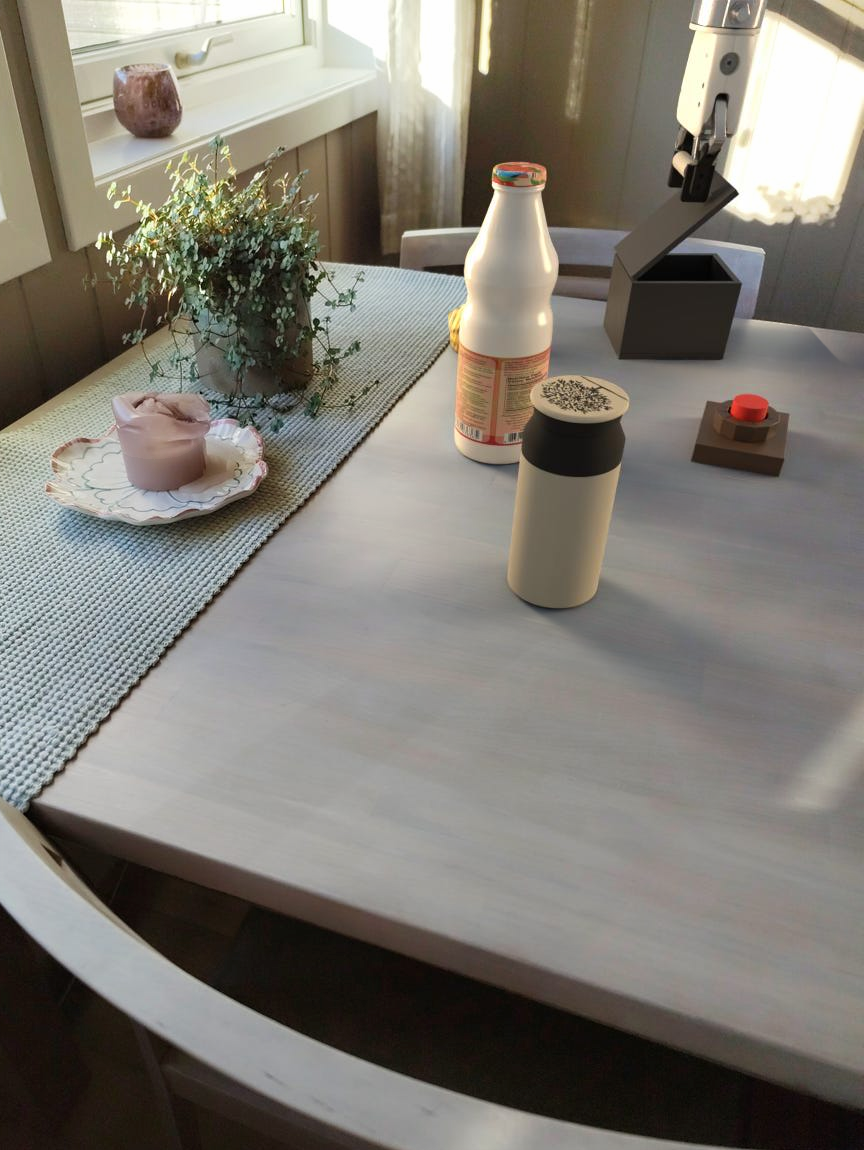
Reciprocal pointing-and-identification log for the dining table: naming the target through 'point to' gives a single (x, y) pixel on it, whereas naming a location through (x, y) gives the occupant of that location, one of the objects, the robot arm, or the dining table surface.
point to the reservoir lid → (671, 223)
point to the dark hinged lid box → (672, 308)
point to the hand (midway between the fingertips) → (686, 192)
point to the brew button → (749, 408)
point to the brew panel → (741, 440)
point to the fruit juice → (505, 317)
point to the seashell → (455, 327)
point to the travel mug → (566, 489)
